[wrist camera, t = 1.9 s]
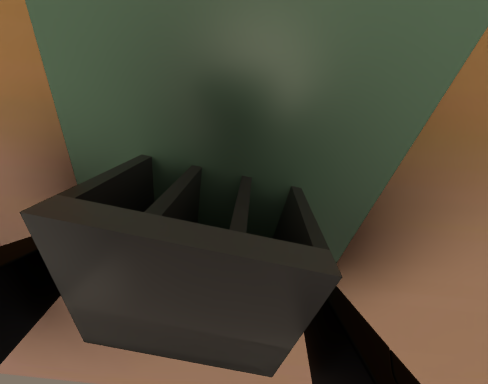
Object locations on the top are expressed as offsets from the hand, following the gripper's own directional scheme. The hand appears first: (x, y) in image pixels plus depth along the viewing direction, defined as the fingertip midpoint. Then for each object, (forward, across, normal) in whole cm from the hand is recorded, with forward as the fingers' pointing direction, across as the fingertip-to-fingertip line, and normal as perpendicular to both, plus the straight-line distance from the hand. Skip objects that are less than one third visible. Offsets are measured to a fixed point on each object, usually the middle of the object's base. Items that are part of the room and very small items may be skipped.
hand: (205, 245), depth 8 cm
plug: (+2, 0, 0) cm, 2 cm away
